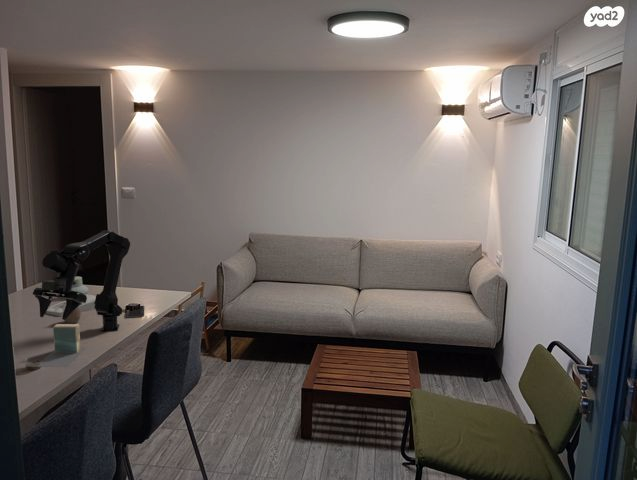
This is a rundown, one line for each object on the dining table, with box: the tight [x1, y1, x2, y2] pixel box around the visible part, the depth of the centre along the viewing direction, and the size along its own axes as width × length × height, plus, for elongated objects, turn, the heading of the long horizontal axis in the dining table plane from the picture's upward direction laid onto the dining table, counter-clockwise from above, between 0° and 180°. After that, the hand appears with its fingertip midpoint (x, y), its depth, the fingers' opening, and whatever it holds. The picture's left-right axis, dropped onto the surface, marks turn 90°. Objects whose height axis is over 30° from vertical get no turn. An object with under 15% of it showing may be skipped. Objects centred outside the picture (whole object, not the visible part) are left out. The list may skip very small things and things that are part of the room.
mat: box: [35, 347, 87, 368], centre depth 180 cm, size 16×11×1 cm
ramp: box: [45, 293, 96, 317], centre depth 232 cm, size 28×16×5 cm, turn 117°
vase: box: [63, 307, 82, 324], centre depth 215 cm, size 7×7×9 cm
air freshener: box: [71, 276, 89, 294], centre depth 250 cm, size 11×8×10 cm
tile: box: [52, 323, 82, 353], centre depth 183 cm, size 3×8×10 cm, turn 94°
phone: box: [125, 305, 145, 319], centre depth 230 cm, size 8×1×15 cm
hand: (52, 318), depth 178 cm, fingers open, 9 cm apart
